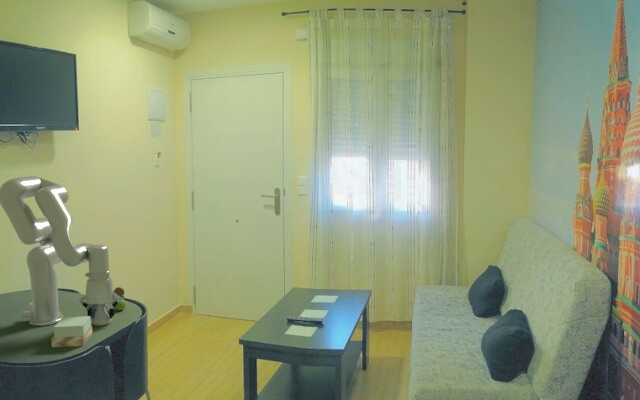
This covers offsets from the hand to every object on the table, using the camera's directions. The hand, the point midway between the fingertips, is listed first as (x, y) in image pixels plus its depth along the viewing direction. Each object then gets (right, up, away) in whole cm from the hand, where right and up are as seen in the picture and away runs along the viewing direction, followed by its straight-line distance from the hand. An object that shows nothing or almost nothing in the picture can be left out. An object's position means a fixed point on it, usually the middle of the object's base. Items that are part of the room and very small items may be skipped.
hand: (101, 317), depth 213 cm
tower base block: (-3, -5, -17) cm, 18 cm away
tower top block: (-3, -1, -18) cm, 18 cm away
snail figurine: (+1, -1, +16) cm, 16 cm away
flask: (0, -3, 0) cm, 3 cm away
